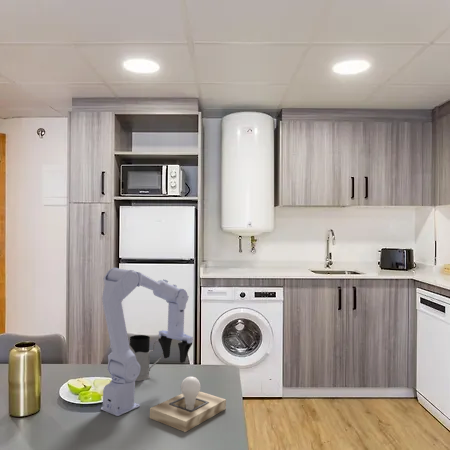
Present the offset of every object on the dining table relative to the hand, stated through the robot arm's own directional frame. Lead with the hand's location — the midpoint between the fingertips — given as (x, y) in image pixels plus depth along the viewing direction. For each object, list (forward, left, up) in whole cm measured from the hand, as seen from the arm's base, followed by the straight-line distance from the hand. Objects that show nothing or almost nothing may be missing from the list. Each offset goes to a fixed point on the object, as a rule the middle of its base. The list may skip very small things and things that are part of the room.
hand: (174, 359), depth 153 cm
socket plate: (-12, -17, -10) cm, 23 cm away
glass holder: (+3, +17, -11) cm, 20 cm away
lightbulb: (-11, -17, -11) cm, 23 cm away
